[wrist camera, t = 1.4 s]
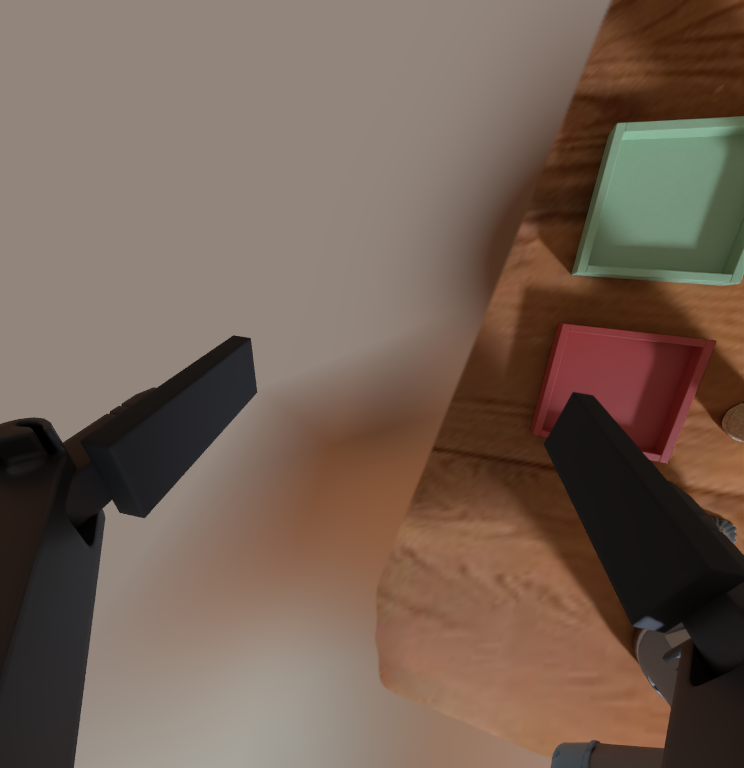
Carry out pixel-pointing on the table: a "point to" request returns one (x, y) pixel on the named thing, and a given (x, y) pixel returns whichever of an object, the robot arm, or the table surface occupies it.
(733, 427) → the sprinkles bottle
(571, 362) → the red tray
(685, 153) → the green tray
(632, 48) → the table surface
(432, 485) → the table surface
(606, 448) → the robot arm
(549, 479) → the table surface
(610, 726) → the table surface
